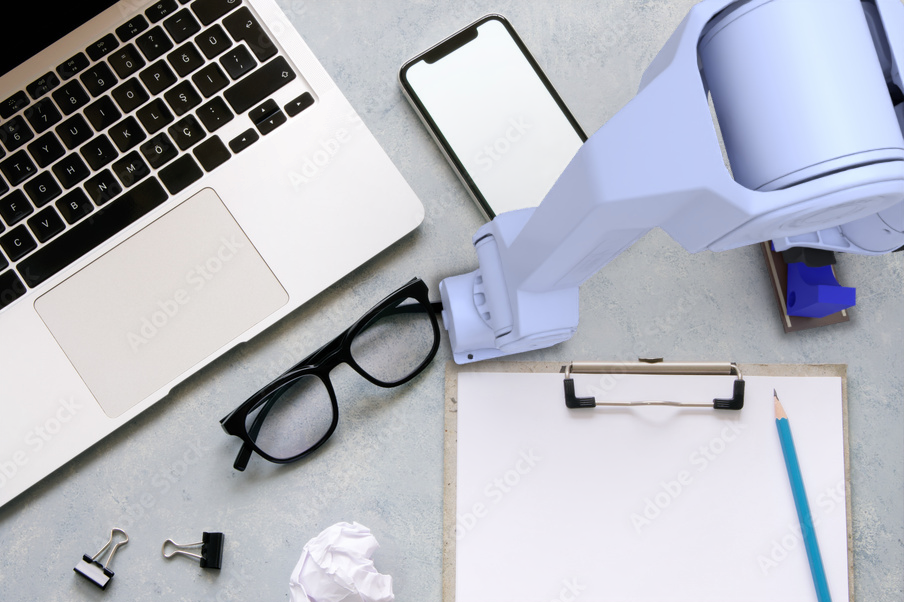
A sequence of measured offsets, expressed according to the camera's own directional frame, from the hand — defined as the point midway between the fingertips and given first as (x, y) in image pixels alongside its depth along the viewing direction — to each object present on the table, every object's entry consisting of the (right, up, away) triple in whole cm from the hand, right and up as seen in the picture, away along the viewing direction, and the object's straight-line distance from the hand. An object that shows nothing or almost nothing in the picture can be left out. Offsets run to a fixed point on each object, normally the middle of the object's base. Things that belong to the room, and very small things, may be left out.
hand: (812, 246), depth 68 cm
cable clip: (0, 0, +2) cm, 2 cm away
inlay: (0, 0, +3) cm, 3 cm away
